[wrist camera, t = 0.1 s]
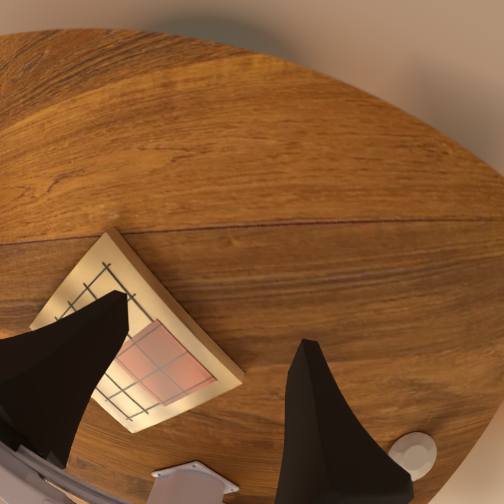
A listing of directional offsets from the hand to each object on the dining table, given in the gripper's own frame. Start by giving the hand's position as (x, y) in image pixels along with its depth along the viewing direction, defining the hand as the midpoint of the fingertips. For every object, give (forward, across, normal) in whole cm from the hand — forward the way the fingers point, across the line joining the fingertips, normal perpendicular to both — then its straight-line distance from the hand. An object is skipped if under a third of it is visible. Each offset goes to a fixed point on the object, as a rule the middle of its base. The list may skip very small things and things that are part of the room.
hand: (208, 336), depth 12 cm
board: (+8, +9, +13) cm, 18 cm away
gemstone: (+8, -23, +19) cm, 31 cm away
